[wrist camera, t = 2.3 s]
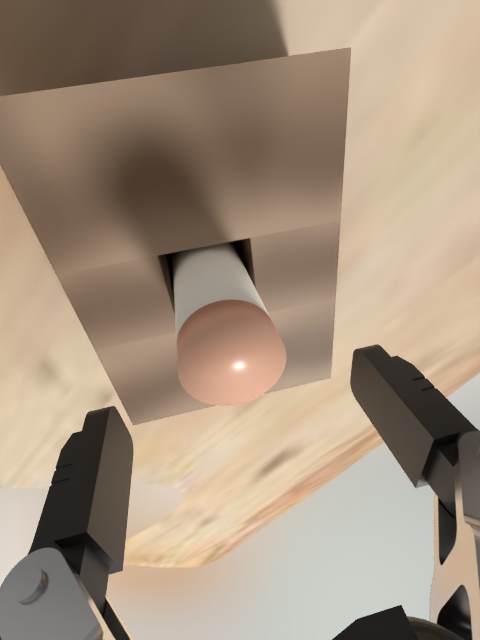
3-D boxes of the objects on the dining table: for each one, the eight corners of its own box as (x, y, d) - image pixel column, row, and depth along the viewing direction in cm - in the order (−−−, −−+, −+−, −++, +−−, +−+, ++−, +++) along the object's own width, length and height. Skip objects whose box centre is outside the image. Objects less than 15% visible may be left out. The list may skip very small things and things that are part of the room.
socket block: (36, 104, 16) (-33, 100, 11) (291, 67, 18) (350, 47, 12) (140, 358, 27) (133, 425, 21) (297, 323, 28) (330, 378, 22)
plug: (165, 220, 21) (164, 336, 10) (224, 209, 21) (284, 310, 10) (179, 274, 23) (191, 415, 12) (232, 264, 23) (288, 392, 13)
